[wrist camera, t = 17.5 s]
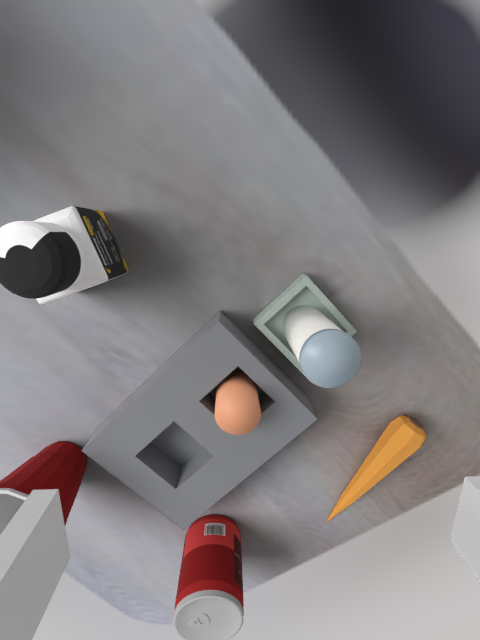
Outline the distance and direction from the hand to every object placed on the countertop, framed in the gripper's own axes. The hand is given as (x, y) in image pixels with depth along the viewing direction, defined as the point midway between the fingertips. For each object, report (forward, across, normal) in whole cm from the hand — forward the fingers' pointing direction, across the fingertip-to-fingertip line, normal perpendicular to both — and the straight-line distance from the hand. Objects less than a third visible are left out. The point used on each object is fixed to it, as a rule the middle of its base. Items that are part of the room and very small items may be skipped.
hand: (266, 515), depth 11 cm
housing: (+29, -4, -14) cm, 32 cm away
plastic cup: (+29, -22, -21) cm, 42 cm away
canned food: (+29, -3, -34) cm, 44 cm away
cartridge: (+28, +8, -2) cm, 29 cm away
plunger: (+27, 0, -10) cm, 29 cm away
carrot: (+29, +18, -23) cm, 41 cm away
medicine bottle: (+30, -16, +6) cm, 35 cm away
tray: (+29, +8, -2) cm, 30 cm away
